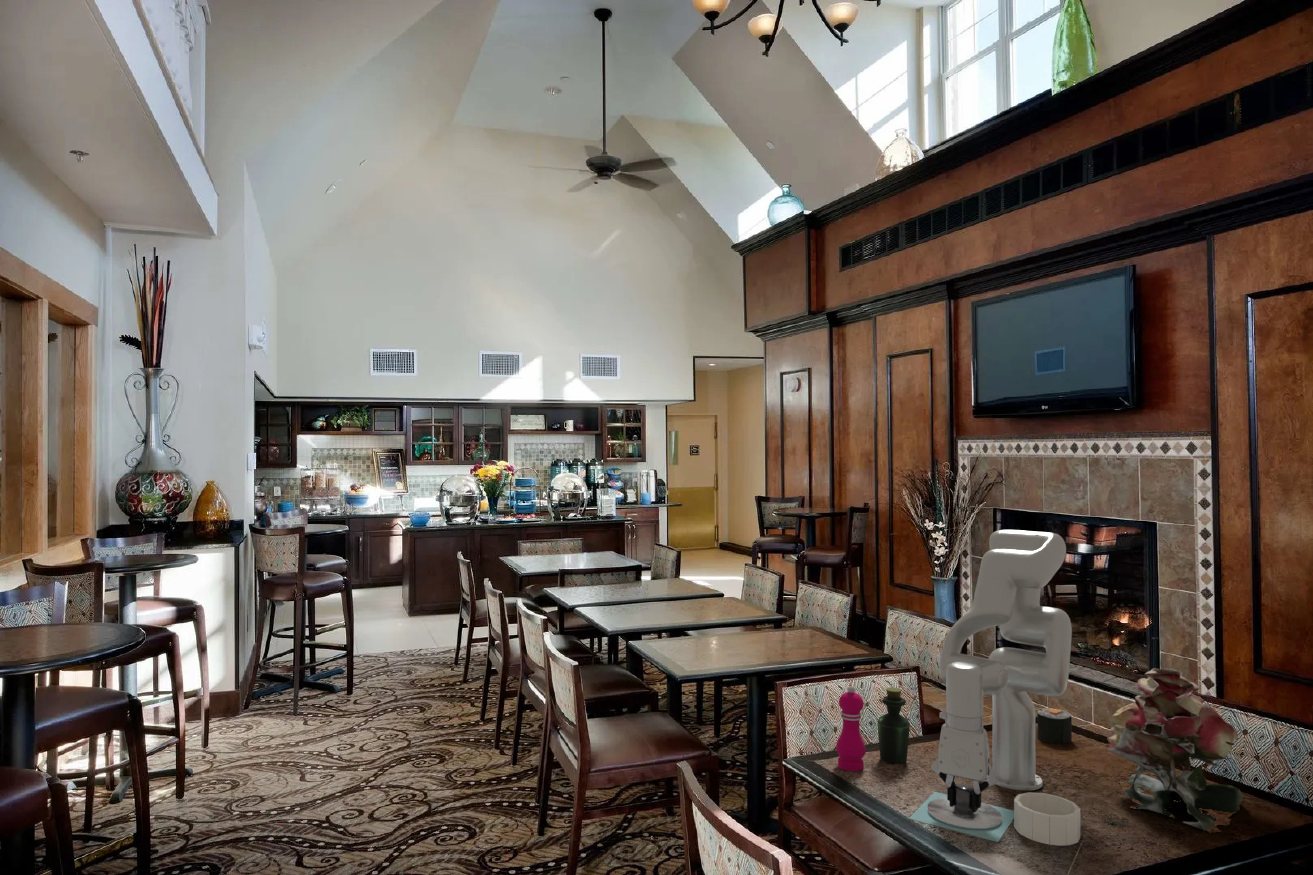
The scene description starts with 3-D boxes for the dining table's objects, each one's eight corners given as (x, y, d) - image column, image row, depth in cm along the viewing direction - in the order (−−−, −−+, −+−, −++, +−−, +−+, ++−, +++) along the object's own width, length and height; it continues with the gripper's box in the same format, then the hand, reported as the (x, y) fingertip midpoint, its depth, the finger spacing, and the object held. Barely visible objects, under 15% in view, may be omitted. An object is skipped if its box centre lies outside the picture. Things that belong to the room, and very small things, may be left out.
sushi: (1076, 741, 230) (1076, 711, 230) (1058, 745, 225) (1058, 716, 226) (1050, 732, 236) (1050, 704, 237) (1031, 737, 232) (1031, 708, 233)
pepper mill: (866, 773, 203) (866, 690, 204) (836, 770, 205) (836, 688, 205) (864, 762, 210) (865, 683, 211) (835, 760, 212) (836, 681, 212)
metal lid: (939, 795, 189) (939, 769, 190) (1009, 811, 181) (1009, 784, 181) (918, 817, 177) (918, 790, 177) (992, 836, 169) (992, 807, 169)
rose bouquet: (1246, 797, 192) (1245, 666, 192) (1226, 839, 170) (1225, 691, 171) (1121, 769, 209) (1121, 648, 210) (1089, 803, 187) (1089, 669, 188)
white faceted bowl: (1022, 816, 180) (1022, 788, 180) (1083, 831, 173) (1083, 801, 173) (1009, 836, 170) (1009, 806, 170) (1074, 852, 163) (1074, 821, 163)
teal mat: (934, 793, 191) (934, 791, 192) (1018, 813, 181) (1018, 811, 181) (908, 820, 177) (908, 818, 177) (998, 843, 166) (998, 841, 166)
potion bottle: (913, 758, 214) (913, 688, 214) (906, 768, 207) (906, 695, 207) (881, 752, 218) (881, 683, 218) (873, 762, 211) (873, 690, 211)
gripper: (920, 718, 181) (919, 803, 181) (1001, 733, 172) (1000, 823, 171) (930, 710, 187) (930, 792, 187) (1009, 724, 178) (1009, 811, 177)
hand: (964, 806), depth 179 cm, fingers closed on metal lid, 4 cm apart
